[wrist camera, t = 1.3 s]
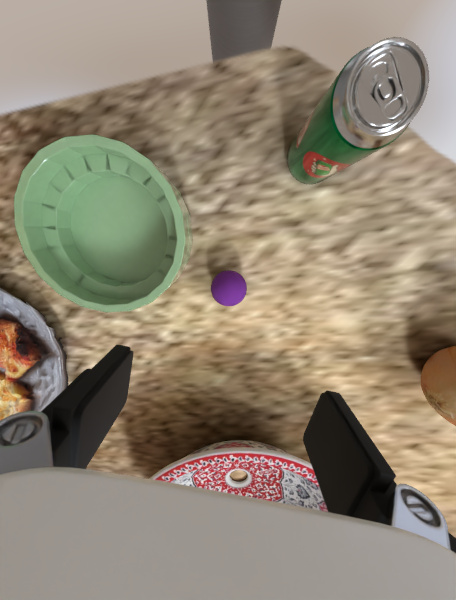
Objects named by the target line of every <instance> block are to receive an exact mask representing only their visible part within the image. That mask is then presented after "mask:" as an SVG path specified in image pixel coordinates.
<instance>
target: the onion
mask: <svg viewBox="0 0 456 600" xmlns="http://www.w3.org/2000/svg"><path fill="white" fill-rule="evenodd" d="M421 387H422V390H423V393H424V395H425V397H426V399H427V400H428V402H429V404H430V405H431V406H432V407H433V408H434V409H435V410H436V411H437V412H438V413H439V414H440V415H441V416H442V417H444V418H445V419H446V420H448V421H449V422H450V423H452V424H454V425H455V426H456V346H453V347H449V348H445V349H442V350H439V351H438V352H436V353H435V354H434V355H432V356H431V357H430V358H429V359H428V360H427V362H426V363H425V365H424V367H423V370H422V373H421Z"/></svg>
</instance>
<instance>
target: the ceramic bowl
mask: <svg viewBox="0 0 456 600" xmlns="http://www.w3.org/2000/svg"><path fill="white" fill-rule="evenodd" d="M235 470H242V471H245V472H246V473H247V474H248V476H247V478H246V480H244V481H240V482H237V481H233V480H232V479H231V478H230V476H229V475H230V473H231V472H233V471H235ZM150 479H153V480H158V481H164V482H169V483H175V484H181V485H186V486H192V487H197V488H203V489H208V490H214V491H219V492H224V493H230V494H235V495H241V496H246V497H251V498H257V499H262V500H267V501H273V502H278V503H283V504H288V505H293V506H299V507H304V508H309V509H314V510H319V511H324V512H328V510H327V507H326V504H325V501H324V499H323V496H322V493H321V490H320V487H319V484H318V482H317V479H316V476H315V473H314V470H313V467H312V465H311V463H310V462H308V461H306V460H303V459H301V458H298V457H296V456H293V455H291V454H289V453H287V452H285V451H283V450H282V449H279V448H277V447H274V446H271V445H268V444H265V443H260V442H255V441H246V440H233V441H224V442H219V443H215V444H211V445H208V446H205V447H203V448H201V449H198V450H196V451H194V452H192V453H191V454H189V455H187V456H186V457H184V458H182V459H180V460H177V461H175V462H173V463H171V464H170V465H168V466H166V467H164V468H163V469H161V470H160V471H158V472H157V473H156V474H154V475H153V476H152V477H151V478H150Z"/></svg>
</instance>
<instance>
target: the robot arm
mask: <svg viewBox="0 0 456 600" xmlns="http://www.w3.org/2000/svg"><path fill="white" fill-rule="evenodd" d="M132 360H133V351H130V347H127V346H122V345H116V346H115V347H114V348H113V349H112V350H111V351H110V352H109V353H108V354H107V355H106V356H105V357H104V358H103V359H102V360H100V361H99V362H98V363H97V364H96V365H95V366H94V367H93V368H92V369H86V370H85V371H84V372H83V373H81V374H80V375H79V376H78V377H77V378H76V379H75V380H74V381H73V382H72V383H71V384H70V385H69V386H68V387H67V388H66V389H64V390H63V391H62V392H61V393H60V394H59V395H58V396H57V397H56V398H55V399H54V400H53V401H52V402H51V403H50V404H49V405H47V406H46V407H45V408H44V409H43V410H42V411H41V412H38V411H24V412H19V413H16V414H13V415H10V416H8V417H6V418H4V419H2V420H0V600H456V538H455V537H453V536H452V535H451V534H450V533H448V527H447V523H446V520H445V518H444V517H443V515H442V513H441V512H440V510H439V509H438V508H437V507H436V506H435V504H434V503H433V502H432V501H431V500H430V499H429V498H428V497H426V496H425V495H424V494H423V493H421V492H420V491H418V490H417V489H415V488H413V487H411V486H409V485H406V484H399V485H396V483H395V482H394V478H395V477H396V475H395V474H394V472H393V471H392V469H391V468H390V466H389V465H388V463H387V462H386V460H385V459H384V458H383V456H382V455H381V453H380V452H379V450H378V449H377V447H376V446H375V444H374V443H373V441H372V440H371V439H370V437H369V436H368V434H367V433H366V431H365V430H364V428H363V427H362V425H361V424H360V423H359V421H358V420H357V418H356V417H355V415H354V414H353V412H352V411H351V409H350V408H349V406H348V405H347V404H346V402H345V401H344V399H343V398H342V396H341V395H340V394H339V393H336V392H331V391H326V392H325V393H322V394H321V396H320V398H319V400H318V403H317V405H316V407H315V409H314V412H313V414H312V416H311V419H310V421H309V423H308V426H307V428H306V430H305V433H304V436H303V441H304V445H305V448H306V450H307V453H308V456H309V459H310V462H311V465H312V467H313V470H314V473H315V476H316V479H317V482H318V484H319V487H320V490H321V493H322V496H323V499H324V501H325V504H326V507H327V510H328V512H324V511H319V510H314V509H309V508H304V507H299V506H293V505H288V504H283V503H278V502H273V501H267V500H262V499H257V498H251V497H246V496H241V495H235V494H230V493H224V492H219V491H214V490H208V489H203V488H197V487H192V486H186V485H181V484H175V483H169V482H164V481H158V480H153V479H147V478H142V477H136V476H129V475H123V474H117V473H111V472H104V471H98V470H90V469H86V467H87V465H88V464H89V462H90V460H91V459H92V457H93V456H94V454H95V452H96V451H97V449H98V447H99V446H100V444H101V443H102V441H103V439H104V438H105V436H106V434H107V433H108V431H109V430H110V428H111V426H112V425H113V423H114V421H115V420H116V418H117V417H118V415H119V413H120V412H121V410H122V408H123V407H124V405H125V403H126V400H127V395H128V388H129V381H130V374H131V367H132Z"/></svg>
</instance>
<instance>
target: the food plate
mask: <svg viewBox="0 0 456 600" xmlns="http://www.w3.org/2000/svg"><path fill="white" fill-rule="evenodd" d="M26 303H27V302H26ZM27 304H28V303H27ZM27 304H25V303H24V302H23V301H22V300H20V299H18V298H16V297H14V296H13V295H11V294H9V293H8V292H7V291H4V290H3V289H1V288H0V420H2V419H4V418H6V417H8V416H10V415H13V414H16V413H19V412H24V411H38V412H41V411H42V410H43V409H44V408H45V407H46V406H47V405H49V404H50V403H51V402H52V401H53V400H54V399H55V398H56V397H57V396H58V395H59V394H60V393H61V392H62V391H63V390H64V389H66V388H67V387H68V376H67V371H66V370H67V369H66V353H65V352H64V350H63V346H62V344H61V343H60V342H59V341H60V337H59V339H58V341H57V340H55V338H56V332H55V330H54V329H53V328H50V327H48V326H47V325H46V323H45V321H46V318H45V316H43V315H42V314H41V313H40V312H38V310H36V309H34V308H33V307H32V306H30V305H29V304H28V305H29V306H28V305H27ZM61 339H62V338H61Z"/></svg>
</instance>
